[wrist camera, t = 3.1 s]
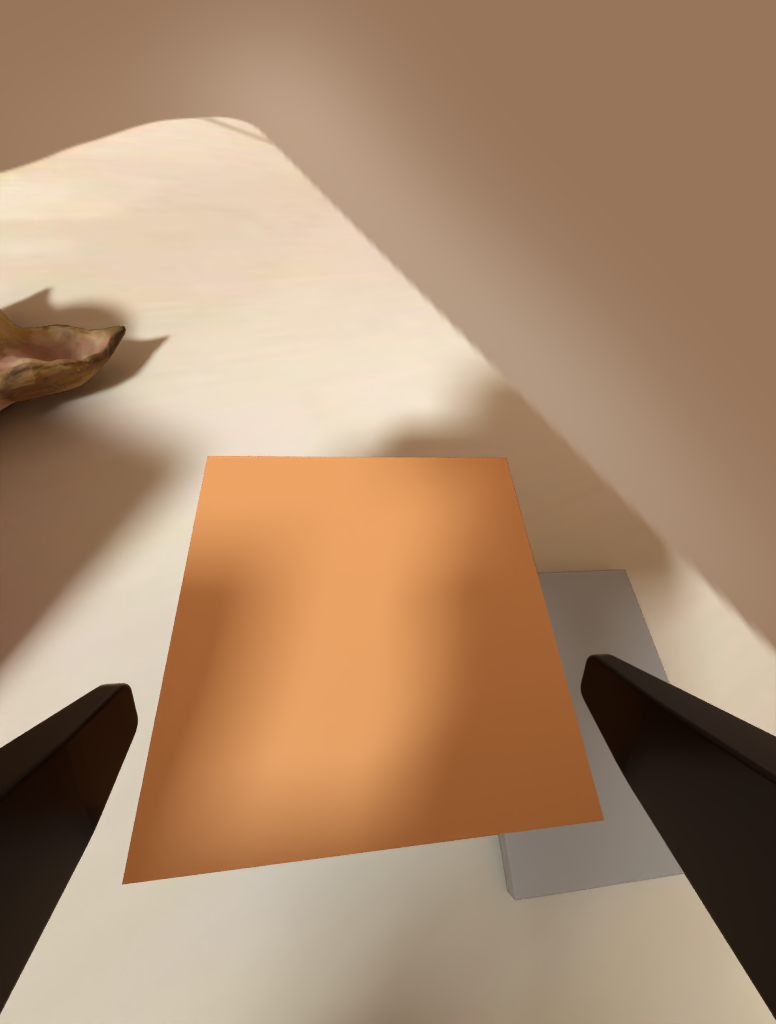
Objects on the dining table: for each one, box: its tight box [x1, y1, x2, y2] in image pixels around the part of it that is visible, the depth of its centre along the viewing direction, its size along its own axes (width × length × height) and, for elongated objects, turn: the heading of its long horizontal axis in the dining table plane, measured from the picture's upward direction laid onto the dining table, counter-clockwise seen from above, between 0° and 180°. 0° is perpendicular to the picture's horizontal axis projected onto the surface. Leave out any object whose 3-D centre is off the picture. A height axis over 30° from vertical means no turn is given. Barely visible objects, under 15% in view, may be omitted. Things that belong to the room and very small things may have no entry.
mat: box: [499, 570, 684, 900], centre depth 15 cm, size 11×8×1 cm
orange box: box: [122, 456, 604, 884], centre depth 10 cm, size 6×6×10 cm
